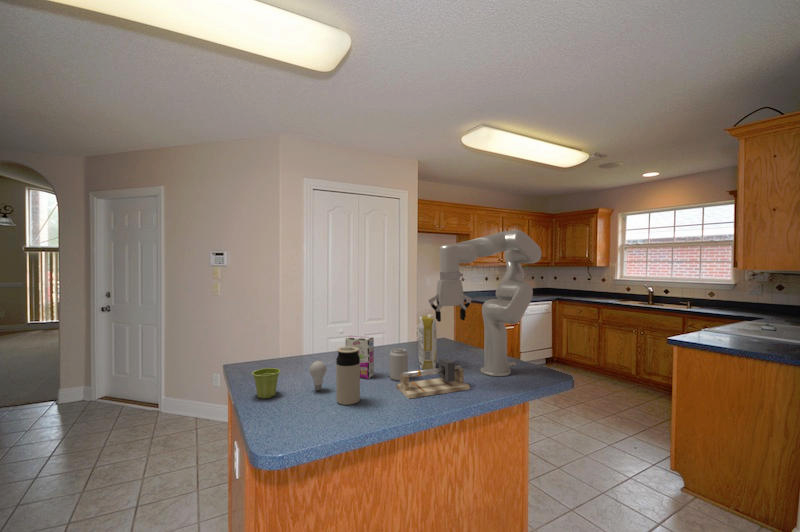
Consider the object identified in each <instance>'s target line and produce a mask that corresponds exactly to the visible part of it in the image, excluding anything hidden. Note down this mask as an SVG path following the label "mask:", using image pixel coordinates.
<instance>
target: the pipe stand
mask: <svg viewBox="0 0 800 532" xmlns="http://www.w3.org/2000/svg"><path fill="white" fill-rule="evenodd" d="M464 371H465V369H464V368H462V369H459V370H458V371H455V381H452V382H447V381H445V380H444V379H442V378H440V377H438V378H431V379H429V378H428V379H422V380H415V381H410V377H409V376H404V375H402V374H401V381H400V382H399V383H395V388H396V389H397V390H398V391H399V392H400V393H401V394H402V395H404V396H405V398H407V399H408V400H409V399H410V398H411V399H415V398H422V397H423V396H424V397H430V396H437V395H442V394H443V395H444V394H449V393H455V392H462V391H468V390H470V389H471V385H470V384H468V383H466V382H465V379H464V378H465V377H464V375H465V372H464ZM436 394H437V395H436ZM429 395H430V396H429ZM424 397H423V398H424Z"/></svg>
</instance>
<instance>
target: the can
mask: <svg viewBox="0 0 800 532" xmlns="http://www.w3.org/2000/svg"><path fill="white" fill-rule="evenodd" d="M408 355H409V353H408V352H407V349H405V348H402V347H396V348H395V347H393V348H392V349H391V350H390V352H389V378H390V379H391V380H392V381H395V382H396V381H397V382H401V374H402V373H403V372H409V371H408V370H409V367H408V366H409V365H408V363H409V362H408V361H409V358H408V357H409V356H408Z"/></svg>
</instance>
